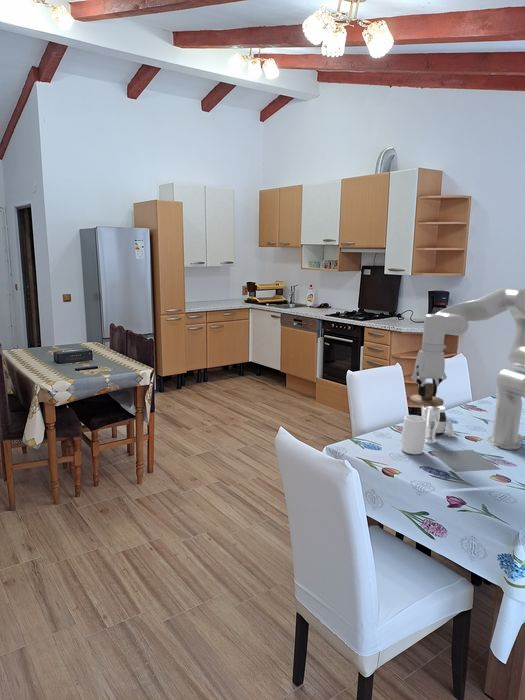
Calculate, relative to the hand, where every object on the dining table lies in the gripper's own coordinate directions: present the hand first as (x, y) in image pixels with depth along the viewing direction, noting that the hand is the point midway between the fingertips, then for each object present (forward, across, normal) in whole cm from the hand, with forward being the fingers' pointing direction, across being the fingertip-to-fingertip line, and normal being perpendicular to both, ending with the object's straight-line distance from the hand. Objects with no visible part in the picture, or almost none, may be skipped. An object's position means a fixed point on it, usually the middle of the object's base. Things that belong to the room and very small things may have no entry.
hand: (427, 395), depth 194 cm
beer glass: (+24, -10, -12) cm, 28 cm away
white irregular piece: (+24, -20, -21) cm, 37 cm away
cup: (+24, +2, -2) cm, 24 cm away
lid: (+2, 0, 0) cm, 2 cm away
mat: (+24, -13, +8) cm, 28 cm away
